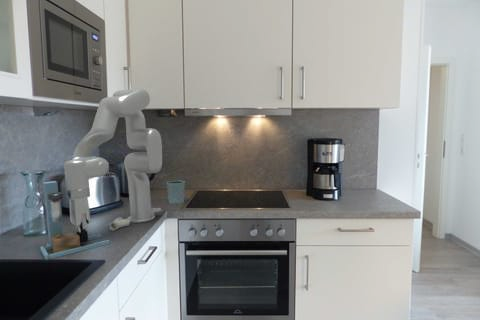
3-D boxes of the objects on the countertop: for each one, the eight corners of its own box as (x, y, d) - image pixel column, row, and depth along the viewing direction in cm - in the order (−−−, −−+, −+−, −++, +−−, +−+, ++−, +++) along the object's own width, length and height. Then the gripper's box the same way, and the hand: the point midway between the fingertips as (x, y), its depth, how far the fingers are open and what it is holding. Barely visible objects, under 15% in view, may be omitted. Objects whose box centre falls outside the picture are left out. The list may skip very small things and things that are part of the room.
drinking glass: (167, 201, 184) (165, 181, 183) (184, 199, 187) (183, 179, 186) (168, 205, 174) (167, 184, 173) (187, 203, 177) (186, 182, 176)
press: (97, 233, 131) (92, 176, 128) (109, 243, 119) (104, 180, 116) (38, 247, 118) (31, 183, 115) (45, 259, 106) (37, 189, 103)
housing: (76, 244, 120) (75, 228, 119) (80, 248, 115) (79, 232, 115) (52, 250, 115) (50, 233, 114) (55, 255, 110) (53, 237, 110)
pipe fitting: (130, 225, 143) (115, 225, 142) (130, 217, 142) (115, 216, 142) (125, 231, 135) (109, 230, 134) (125, 222, 134) (109, 222, 134)
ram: (63, 217, 116) (60, 191, 115) (66, 220, 112) (63, 193, 111) (49, 220, 113) (46, 194, 112) (51, 223, 109) (48, 195, 108)
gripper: (62, 192, 120) (67, 239, 122) (71, 198, 108) (76, 250, 110) (84, 189, 124) (88, 234, 126) (95, 194, 113) (99, 244, 115)
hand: (83, 241), depth 118 cm, fingers closed
